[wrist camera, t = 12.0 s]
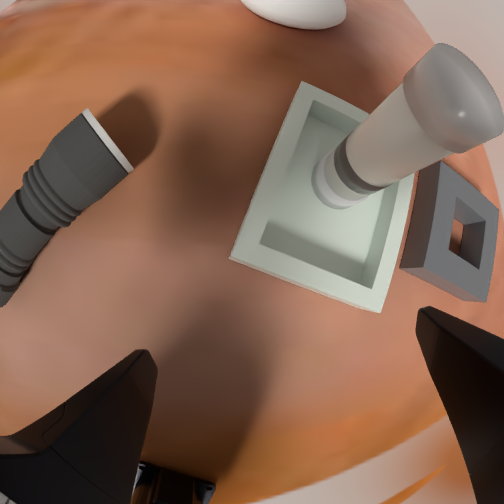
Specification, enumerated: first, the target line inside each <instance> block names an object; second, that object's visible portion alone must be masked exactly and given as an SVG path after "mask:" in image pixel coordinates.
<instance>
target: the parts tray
mask: <svg viewBox="0 0 504 504" xmlns="http://www.w3.org/2000/svg"><path fill="white" fill-rule="evenodd" d="M369 115H370V114H368V113H366V112H365V111H363V110H361V109H359V108H357V107H355V106H354V105H352V104H350V103H348V102H346V101H344V100H342V99H340V98H338V97H336V96H334V95H332V94H330V93H327V92H325V91H323V90H321V89H319V88H317V87H314V86H312V85H310V84H308V83H305V82H303V81H301V84H300V86H299V88H298V90H297V92H296V94H295V96H294V98H293V100H292V102H291V104H290V107H289V109H288V112H287V114H286V116H285V119H284V121H283V123H282V126H281V128H280V131H279V133H278V135H277V138H276V140H275V143H274V145H273V148H272V150H271V152H270V155H269V157H268V160H267V162H266V165H265V167H264V170H263V172H262V174H261V177H260V179H259V182H258V184H257V187H256V189H255V192H254V194H253V197H252V199H251V202H250V204H249V207H248V209H247V212H246V214H245V217H244V219H243V222H242V224H241V227H240V230H239V232H238V235H237V237H236V240H235V242H234V245H233V247H232V250H231V253H230V255H229V258H228V259H230V260H233V261H235V262H238V263H240V264H243V265H246V266H248V267H251V268H253V269H256V270H258V271H261V272H264V273H266V274H269V275H271V276H274V277H277V278H279V279H282V280H284V281H287V282H290V283H292V284H295V285H298V286H300V287H303V288H306V289H308V290H311V291H313V292H316V293H319V294H321V295H324V296H327V297H329V298H332V299H335V300H337V301H340V302H343V303H346V304H348V305H351V306H354V307H356V308H359V309H364V310H368V311H373V312H377V313H381V310H382V307H383V304H384V301H385V297H386V294H387V291H388V288H389V285H390V281H391V278H392V274H393V271H394V267H395V264H396V260H397V256H398V252H399V248H400V244H401V240H402V236H403V232H404V227H405V223H406V218H407V213H408V208H409V203H410V198H411V193H412V187H413V181H414V175H415V173H413V174H411V175H409V176H407V177H405V178H403V179H401V180H399V181H397V182H395V183H393V184H392V185H390V186H388V187H386V188H384V189H382V190H380V191H378V192H376V193H374V194H370V195H369V197H368V198H367V199H365V200H364V201H362V202H360V203H358V204H355V205H353V206H351V207H349V208H347V209H342V210H338V209H333V208H330V207H328V206H326V205H325V204H323V203H322V202H321V201H320V200H319V199H318V198H317V196H316V195H315V193H314V190H313V188H312V183H311V176H312V171H313V169H314V167H315V166H316V165H317V163H318V162H319V161H320V160H321V159H322V158H323V157H324V156H325V155H326V154H327V153H328V152H329V151H331V150H332V149H334V148H336V147H337V146H338V145H339V144H340V143H341V142H342V141H343V140H344V139H345V138H346V137H347V136H348V135H349V134H350V133H351V132H352V131H353V130H354V129H356V128H357V127H358V126H359V125H360V124H361V123H362V122H363V121H364V120H365V119H366V118H367V117H368V116H369Z"/></svg>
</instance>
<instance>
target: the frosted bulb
mask: <svg viewBox="0 0 504 504" xmlns="http://www.w3.org/2000/svg"><path fill="white" fill-rule="evenodd" d="M503 131H504V115H503V111H502V107H501V105H500V102H499V99H498V97H497V95H496V93H495V91H494V89H493V87H492V86H491V84H490V83H489V81H488V80H487V78H486V77H485V75H484V74H483V73H482V72H481V70H480V69H479V68H478V67H477V66H476V65H475V64H474V63H473V62H472V61H471V60H470V59H469V58H468V57H467V56H466V55H465V54H463V53H462V52H461V51H459V50H458V49H456V48H454V47H452V46H450V45H448V44H444V43H438V44H436V45H435V46H434V47H433V48H431V49H430V50H429V51H428V52H427V53H426V54H425V55H424V56H423V57H422V58H421V59H420V60H419V61H418V62H417V63H416V64H415V65H414V66H413V67H412V68H411V69H410V70H409V71H408V72H407V73H406V74H405V76H404V80H403V82H402V83H401V84H400V85H399V86H398V87H397V88H396V89H395V90H394V91H393V92H392V93H391V94H390V95H389V96H388V97H387V98H386V99H385V100H384V101H383V102H382V103H381V104H380V105H379V106H378V107H377V108H376V109H375V110H374V111H373V112H372V113H371V114H370V115H369V116H368V117H367V118H366V119H365V120H364V121H363V122H362V123H361V124H360V125H359V126H358V127H357V128H356V129H354V130H353V131H352V132H351V133H350V134H349V135H348V136H347V137H346V138H345V139H344V140H343V141H342V142H341V143H340V144H339V145H338V146H337V147H336V148H334V149H332V150H331V151H329V152H328V153H327V154H326V155H325V156H324V157H323V158H322V159H321V160H320V161H319V162H318V163H317V165H316V166H315V167H314V169H313V171H312V176H311V183H312V188H313V190H314V193H315V195H316V196H317V198H318V199H319V200H320V201H321V202H322V203H323V204H325V205H326V206H328V207H330V208H333V209H338V210H342V209H347V208H349V207H351V206H353V205H355V204H358V203H360V202H362V201H364V200H365V199H367V198H368V197H369V195H370V194H374V193H376V192H378V191H380V190H382V189H384V188H386V187H388V186H390V185H392V184H393V183H395V182H397V181H399V180H401V179H403V178H405V177H407V176H409V175H411V174H413V173H415V172H417V171H419V170H421V169H423V168H425V167H427V166H429V165H431V164H433V163H435V162H437V161H439V160H441V159H443V158H445V157H447V156H449V155H451V154H453V153H464V152H466V151H468V150H470V149H472V148H474V147H476V146H478V145H481V144H483V143H485V142H487V141H489V140H491V139H493V138H495V137H497V136H499V135H501V134H502V133H503Z"/></svg>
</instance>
